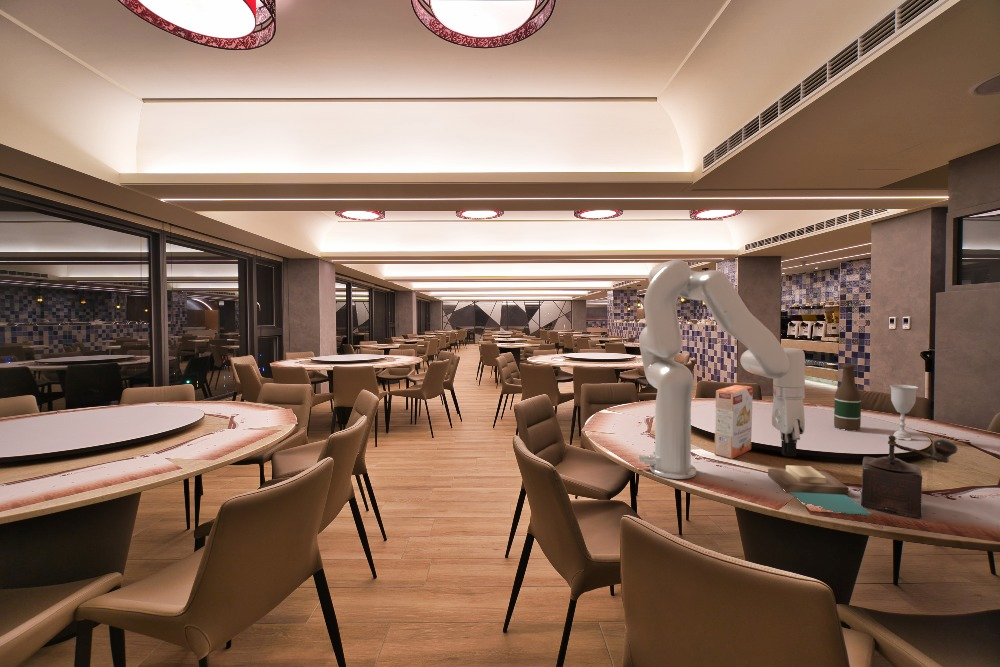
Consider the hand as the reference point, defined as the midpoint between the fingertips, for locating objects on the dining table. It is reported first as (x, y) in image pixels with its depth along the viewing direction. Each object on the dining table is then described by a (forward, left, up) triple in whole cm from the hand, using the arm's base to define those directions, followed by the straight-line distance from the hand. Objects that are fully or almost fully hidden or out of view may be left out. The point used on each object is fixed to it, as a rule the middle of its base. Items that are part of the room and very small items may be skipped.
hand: (788, 455), depth 126 cm
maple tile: (-1, -11, -2) cm, 11 cm away
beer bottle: (+38, +46, -4) cm, 60 cm away
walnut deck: (-1, -11, -4) cm, 12 cm away
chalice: (+49, +35, -4) cm, 61 cm away
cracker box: (-11, +13, -4) cm, 17 cm away
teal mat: (-1, -22, -4) cm, 23 cm away
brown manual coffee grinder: (+15, -22, -4) cm, 27 cm away
